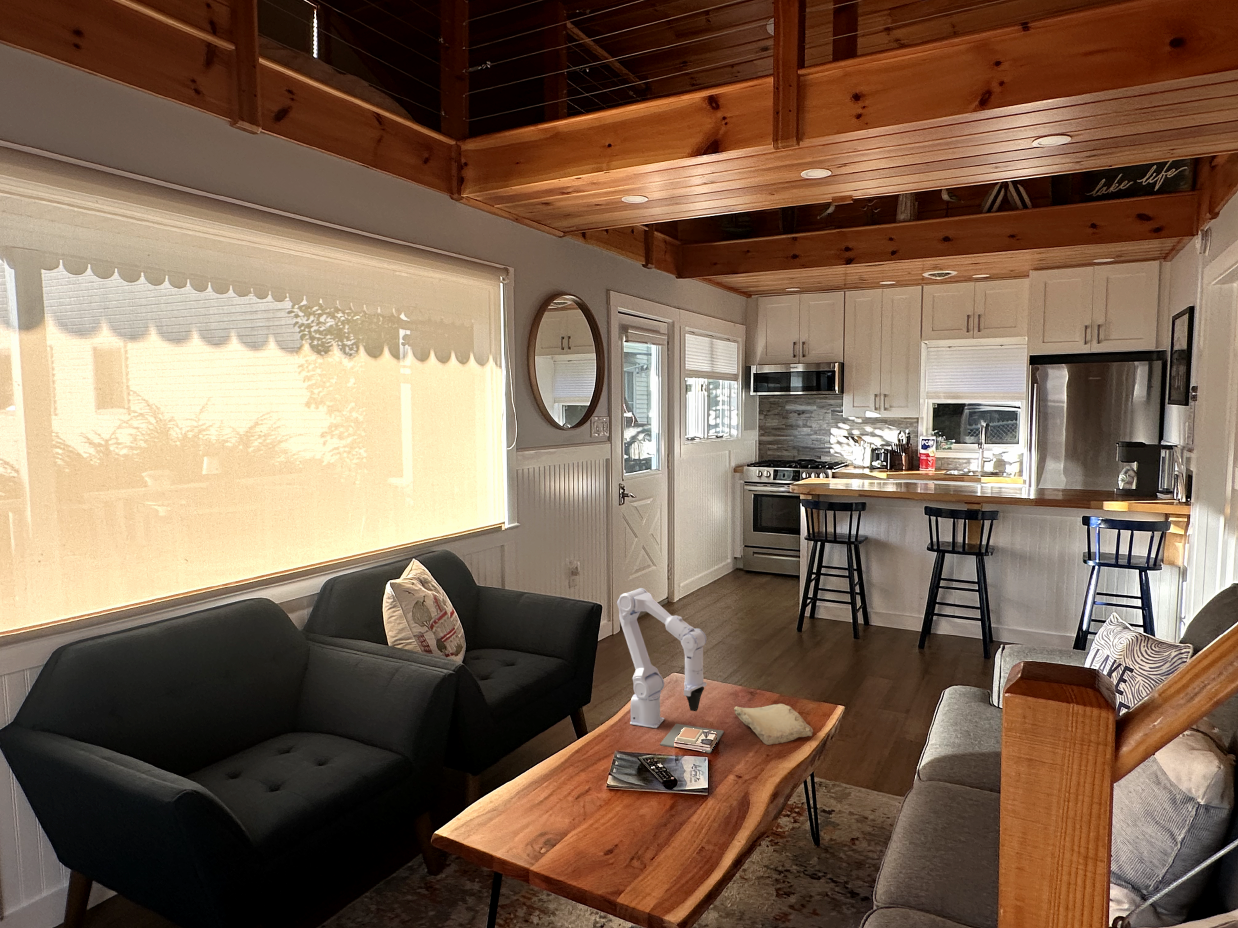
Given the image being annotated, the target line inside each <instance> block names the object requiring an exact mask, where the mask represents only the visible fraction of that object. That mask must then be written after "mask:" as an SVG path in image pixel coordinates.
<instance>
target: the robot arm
mask: <svg viewBox="0 0 1238 928" xmlns="http://www.w3.org/2000/svg"><path fill="white" fill-rule="evenodd" d="M616 605H617V608H618V615H619V617H618V619H619V622H620V625H621V628H622V631H623V635H624V638H625V640H626V644H627V647H628V651H629V653H630V657H631V660H632V662H633V666H634V669H635V671H634V673H633V676H632V683H633V692H634V694H633V695H632V697H631V699H630V721H629V724H630V725H634V726H640V727H646V728H652V729H657V728H659V726H660V725H661V724H662V723H663V721H665V717H661V695H662V694H661V693H662V690H663V689H664V687H665V680H664V678H663V676H662V675H661V674H660V672H659V669H658V668H657V667H656V666H654V665H653V664H652V663H651V660H650V656H649V653H648V650H647V647H646V643H645V640H644V637H643V635H642V632H641V628H640V625H639V623H638V617H639V615H640V614H641V612H647V613H648V614H650V615H651V616H653V617H654V618H656V620H658V621H660V622H661V623H662V624H664V625H665V626H664V627H665V630H666V631H667V632H668V633H670V634H671V635H672V636H674V638H676V639H677V640H678V641H679V642H680V644H681V646H682V650H683V654H684V681H683V682H684V683H683V684H684V689H683V697H684V696H685V697H686V699H687V703H688V706H689V710H690V711H691V712H697V711H698V710H699V706H700V701H701V696H702V694H703V691H704V690H705V687H707V684H708V683H707V682H705V681H704V646H705V645H706V644H707V635H706V633H705V632H704V631H703V630H702V629H701V628H695V627H693V626H692V625H690V624H689V623H688V622H686V621H685V620H683V617H682V616H680V615H672V614H670V613H669V612H668V611H667V610H666V609H665V607H662V605H660V604H659V603H658V602H657V601H656V600H655V599H654V598H653V595H652V594H651V593H650V592H648V591H647V589H645V588H643V587H639V588H637V589H634V590H632V591H627V592H624V593H621V594H620V595H619V598H618V599H617V602H616Z"/></svg>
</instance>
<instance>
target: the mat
mask: <svg viewBox="0 0 1238 928" xmlns="http://www.w3.org/2000/svg"><path fill="white" fill-rule="evenodd" d="M684 727H686V728H694V729H699V730H709V731H713V732H716V733H717V741H716V742H717V743H718V742H719V740H720V738H721V737H723V735H724V732H725V731H724V730H721V729H720V730H719V729H715V728H707V727H703V726H702V727H701V726H696V725H695V726H694V725H687V724H682V723H681V724H680V723H675V725H673V727H672V728H671V730H669V732H668V733H667V734H666V736H665V737H664V738H663V739H662V740H661V742H660V743H659V746H663V747H668V748H674V741H675V738H676V737H677V735H678V734H679V733H680V732H681V729H683V728H684ZM714 746H715V747H716V745H714ZM714 746H713V747H714ZM715 747H714V748H715ZM714 748H712V749H713V750H714ZM712 749H710V750H702V751H705V752H707V753H706V754H711V753H712V752H713V750H712ZM705 752H704V753H705Z"/></svg>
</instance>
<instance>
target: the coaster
mask: <svg viewBox="0 0 1238 928" xmlns="http://www.w3.org/2000/svg"><path fill="white" fill-rule="evenodd" d="M702 733H703V730H699V729H693V728H686V727H684V729H683V730H682V731H681V732H680V734H679V735H678V736H677V741H680V742H684V743H691V744H696V742H697V741H698V739H699V737H700V736H701V735H702Z"/></svg>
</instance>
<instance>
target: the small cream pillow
mask: <svg viewBox="0 0 1238 928" xmlns="http://www.w3.org/2000/svg"><path fill="white" fill-rule="evenodd" d="M733 710H734V714H735V715H736V716H737V717H738V718H739V720H740V721H742V722H743V724H744V725H745V726H748V727H750V728H751V730H752V731H753V732H754V733H755V734H756V736H757V737H758V738H759V739H760V741H762V743H763V744H765V745H767V746H770V745H774V744H777V745H778V744H784V743H788V742H791V741H794V740H797V739H798V738H805V737H806V738H807V737H812V736H813V733H814V730H813V728H812V726H810V725H809V724H807V722H806V721H805V720H804V719H803V717H802V716H801V715H800V713H798V712H797V711H795V709H793V707H791V706H790V705H786V704H784V703H778V704H770V705H766V706H762V707H740V706H737V705H736V706H735V707H734V708H733Z"/></svg>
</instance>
